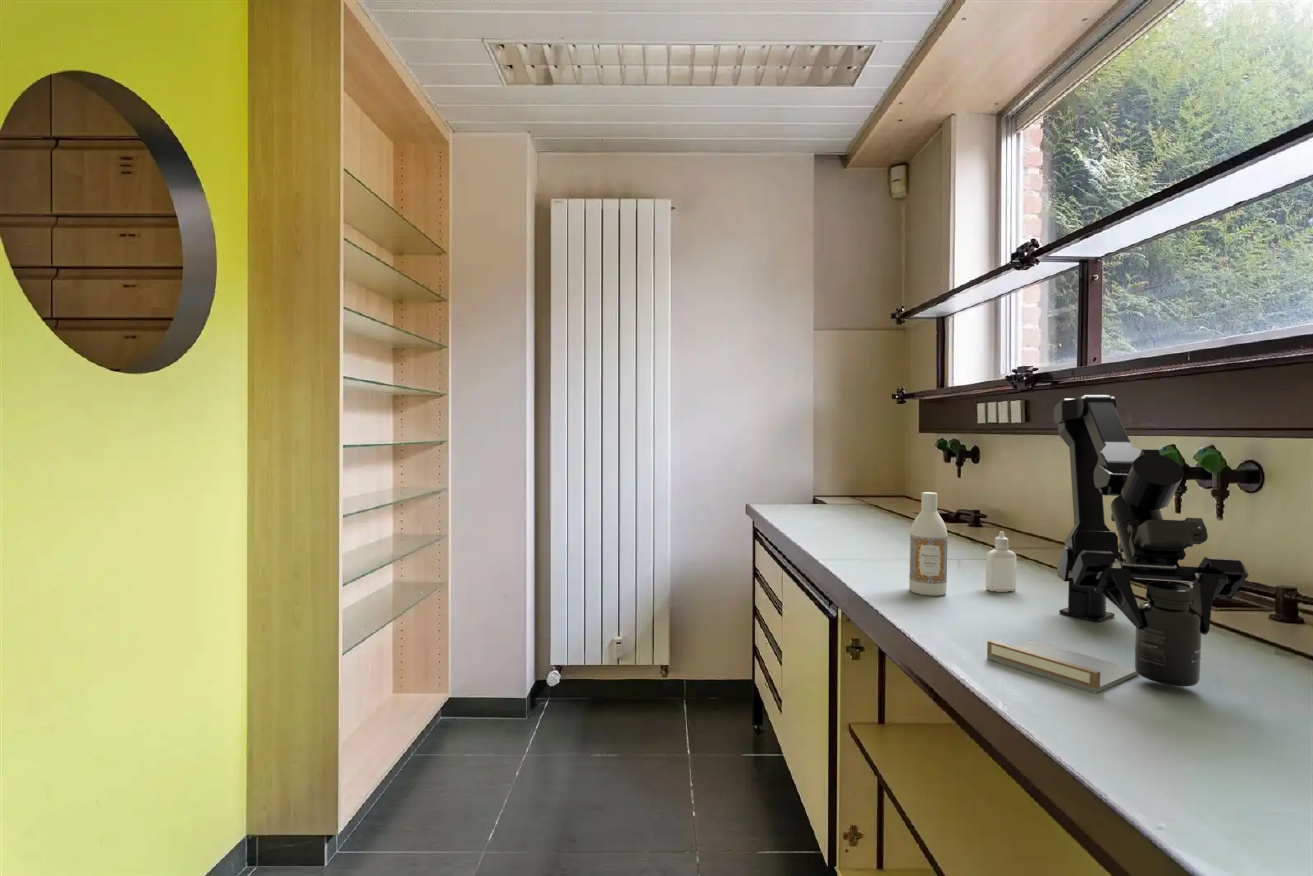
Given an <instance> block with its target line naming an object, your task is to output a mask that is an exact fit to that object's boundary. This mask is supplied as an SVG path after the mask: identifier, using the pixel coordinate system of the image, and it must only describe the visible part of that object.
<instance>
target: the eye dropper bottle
mask: <svg viewBox="0 0 1313 876" xmlns="http://www.w3.org/2000/svg"><path fill="white" fill-rule="evenodd" d="M985 559H986V560H985V561H986V563H985V565H986V566H985V589H986V590H988V591H990V592H993V591H996V592H995V593H1009V592H1008V591H1012V592H1015V591H1016V589H1017V554H1016V553H1015V552H1014V551H1012V550H1010V549H1009V538H1008V537H1006V536H1005V532H1004V531H1003V530H1001V531H999V534H998V536H996V537H995V539H994V548H993V549H992V550H990V551H988V552H987V553H986V558H985ZM1006 591H1007V592H1006Z"/></svg>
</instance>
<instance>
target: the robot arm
mask: <svg viewBox="0 0 1313 876" xmlns="http://www.w3.org/2000/svg"><path fill="white" fill-rule="evenodd" d="M1053 421H1054V423H1055V424H1057V430H1058V431H1057V432H1058V435H1059V437H1060V438H1061V439H1062V441H1063V442H1064V443H1065V444H1066V445H1067V446H1068V449H1069V461H1070V463H1069V464H1070V477H1071V478H1070V480H1071V494H1072V495H1071V496H1072V509H1073V511H1072V512H1073V526H1072V529H1071V530H1070V531H1069V533H1068V534H1067V535H1066V537H1065V539H1064V546H1063V547H1062V550H1061V553H1060V556H1059V558H1058V561H1057V565H1056V571H1057V577H1059V579H1061V580H1062V581H1063V582H1067V583H1068V594H1067V607H1065V608H1062V609H1059V610H1058V612H1059V614H1063V615H1067V616H1072V617H1076V618H1081V619H1085V620H1089V621H1093V622H1102V621H1104V620H1107V619H1109V618H1110V619H1111V618H1113V617H1115V613H1114V612H1110V611H1107V599H1108V600H1109V601H1110V602H1111V603H1112V604H1113V605H1115V606H1116V608H1117V609H1119V610H1120V611H1121V612H1122V614H1123V615H1124V616H1125V618H1127V619H1128V620H1129V621H1130V622H1131V624H1132V625H1133V626H1134V627H1135V629H1136V628H1137V629H1142V627H1143V621H1142V616H1141V613H1140V610H1139V604H1138V602H1137V599H1136V596H1135V593H1134V591H1133V588H1132V583H1131V579H1135V580H1150V581H1162V582H1163V581H1165V582H1166V581H1167V582H1182V583H1187V584H1188V585H1189V588H1191V589H1193V604H1192V605H1190V607H1191V608H1192V609H1194V610H1195V611H1196V612H1198V614H1199V615H1200V616H1201V619H1202V634H1201V635H1207V634H1208V633H1209V632H1210V627H1211V626H1210V624H1211V618H1212V617H1211V614H1212V606H1213V601H1214V600H1216V598H1230V597H1232V596H1234V595H1235V593H1237V591H1238V590H1239V589H1240V587H1241V586H1242V585H1243V583H1244V582H1245V581H1246V579H1247V578H1248V577H1249V573H1248V571H1247V568H1246V565H1245V564H1244V562H1242V561H1241V560H1240V559H1238V558H1232V557H1213V556H1204V558H1203V559H1202V560H1201V562H1200V563H1199V566H1185V565H1179V561H1183V560H1184V559H1185V558H1186V556H1187V555H1186V551H1185V549H1187V548H1189V547H1190V548H1192V547H1193V546H1194V545H1202V544H1203V543H1205V542H1206V541H1208V537H1209V535H1208V531H1207V527H1206V524H1205V522H1204V520H1203V518H1202V517H1185V519H1183V520H1182V519H1181V520H1180V519H1177V520H1176V519H1164V518H1163V514H1162V512H1161V510H1162V509H1164V508H1168V506H1169V505H1170V503H1171V500H1172V498H1173V497H1174V495H1175V493H1176V491H1177V489H1178V487H1179V486H1180V483H1181V482H1182V480H1183V478H1184V474H1185V472H1184V469H1183V466H1182V465H1180V464H1179V463H1178V462H1177V461H1176V460H1174V459H1173V458H1171V457H1169V456H1166V455H1163V454H1161V452H1160V450H1159V449H1156V448H1154V449H1153V448H1142V449H1139V448H1137V447H1135V446H1133V444H1132V443H1131V440H1130V437H1129V435H1128V434H1127V432H1126V428H1125V426H1124V425H1123V422H1122V420H1121V417H1120V416H1119V413H1118V411H1117V400H1116V398H1115V396H1111V395H1109V394H1085V395H1083V396H1079V397H1077V398H1063V399H1062V400H1061V401H1060V402H1058V403H1057V404H1056V405H1055V406H1054V410H1053ZM1103 496H1106V497H1107V496H1109V497H1111V496H1112V497H1115V498H1114V499H1112V502H1111V503H1110V509H1111V515H1110V519H1111V522H1114V524H1115V527H1116V531H1117V533H1116V532H1115V531H1111V529H1110V528H1109V527H1108V526H1107V524H1106V522H1105V511H1104V510H1105V509H1104V498H1103ZM1117 534H1118V535H1117ZM1119 541H1120V542H1119ZM1123 555H1124V556H1123Z"/></svg>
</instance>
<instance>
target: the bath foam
mask: <svg viewBox="0 0 1313 876" xmlns="http://www.w3.org/2000/svg"><path fill="white" fill-rule="evenodd" d="M920 507H921V508H920V509H921V510H920V512H919V513H918V514H917V516H916V517H915V519H914V520H913V523H912V524H911V526H910V533H909V535H910V536H909V574H908V575H909V580H908V581H909V583H908V584H909V586H908V587H909V590H910V591H911V593H914V594H916V595H920V596H927V597H928V596H929V597H940V596H944V595H945V594H946V593H947V585H948V584H947V583H948V581H947V579H948V529H947V526H946V523H945V521H944V520H943V518H942V517H941V515H940V514H939V512H938V493H937V492H933V491H932V492H929V491H924V492H921V506H920Z"/></svg>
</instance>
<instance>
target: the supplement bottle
mask: <svg viewBox="0 0 1313 876" xmlns="http://www.w3.org/2000/svg"><path fill="white" fill-rule="evenodd" d="M1145 598H1146V599H1148V600H1147V601H1145V602H1142V603H1141V604H1140V605H1138V607H1139V610H1140V613H1141V616H1142V621H1143V627H1142V629H1137V628H1136V627H1135V638H1134V639H1135V640H1134V641H1135V643H1134V645H1135V646H1134V669H1135V670H1136V672H1137V673H1138V675H1139V676H1141V677H1143V678H1144V679H1146V680H1149V681H1152V682H1154V683H1155V682H1156V683H1159V684H1161V685H1162V684H1163V685H1166V686H1174V687H1193V686H1196V685H1197V684H1198V683H1199V682H1200V679H1201V678H1200V677H1201V676H1200V675H1201V659H1202V657H1201V655H1202V635H1203V634H1202V619H1201V616H1200V615H1199V614H1198V612H1196V611H1195V610H1194V609H1192V608H1191V607H1190V605H1192V604H1193V589H1191V588H1190V586H1185V585H1182V584H1176V583H1170V582H1168V583H1167V582H1160V581H1157V582H1156V581H1154V582H1153V581H1152V582H1147V583H1146V592H1145Z"/></svg>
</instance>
